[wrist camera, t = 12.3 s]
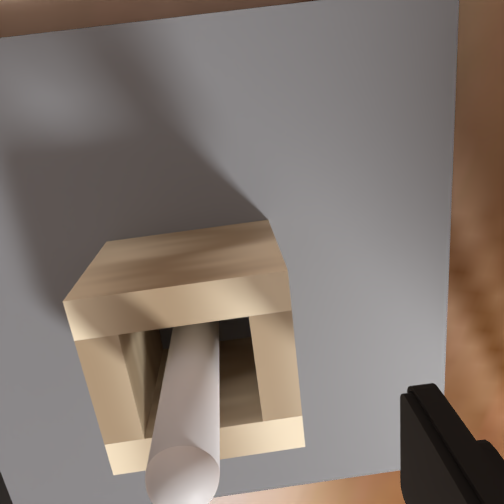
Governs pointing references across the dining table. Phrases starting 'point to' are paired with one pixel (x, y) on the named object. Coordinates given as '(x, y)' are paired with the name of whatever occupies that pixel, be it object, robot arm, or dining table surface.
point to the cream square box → (186, 313)
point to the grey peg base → (228, 213)
